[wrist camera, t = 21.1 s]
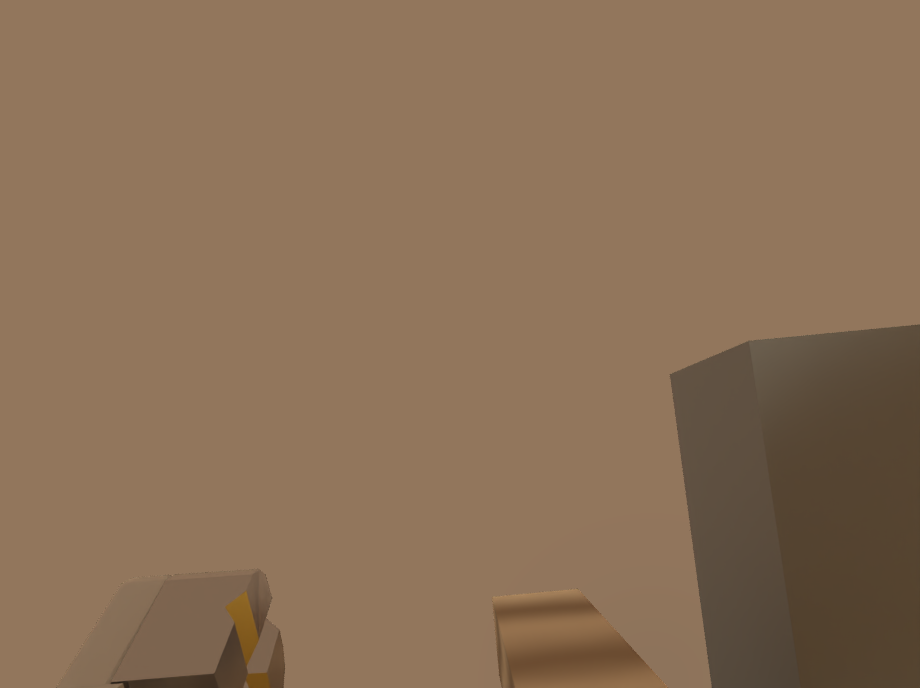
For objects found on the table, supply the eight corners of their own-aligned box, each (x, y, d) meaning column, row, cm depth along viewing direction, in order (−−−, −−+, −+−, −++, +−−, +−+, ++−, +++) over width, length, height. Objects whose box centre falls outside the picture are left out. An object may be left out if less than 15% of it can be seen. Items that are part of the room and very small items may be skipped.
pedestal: (742, 912, 36) (669, 374, 40) (994, 892, 36) (898, 352, 39) (869, 1140, 24) (748, 340, 28) (1249, 1112, 24) (1076, 309, 27)
